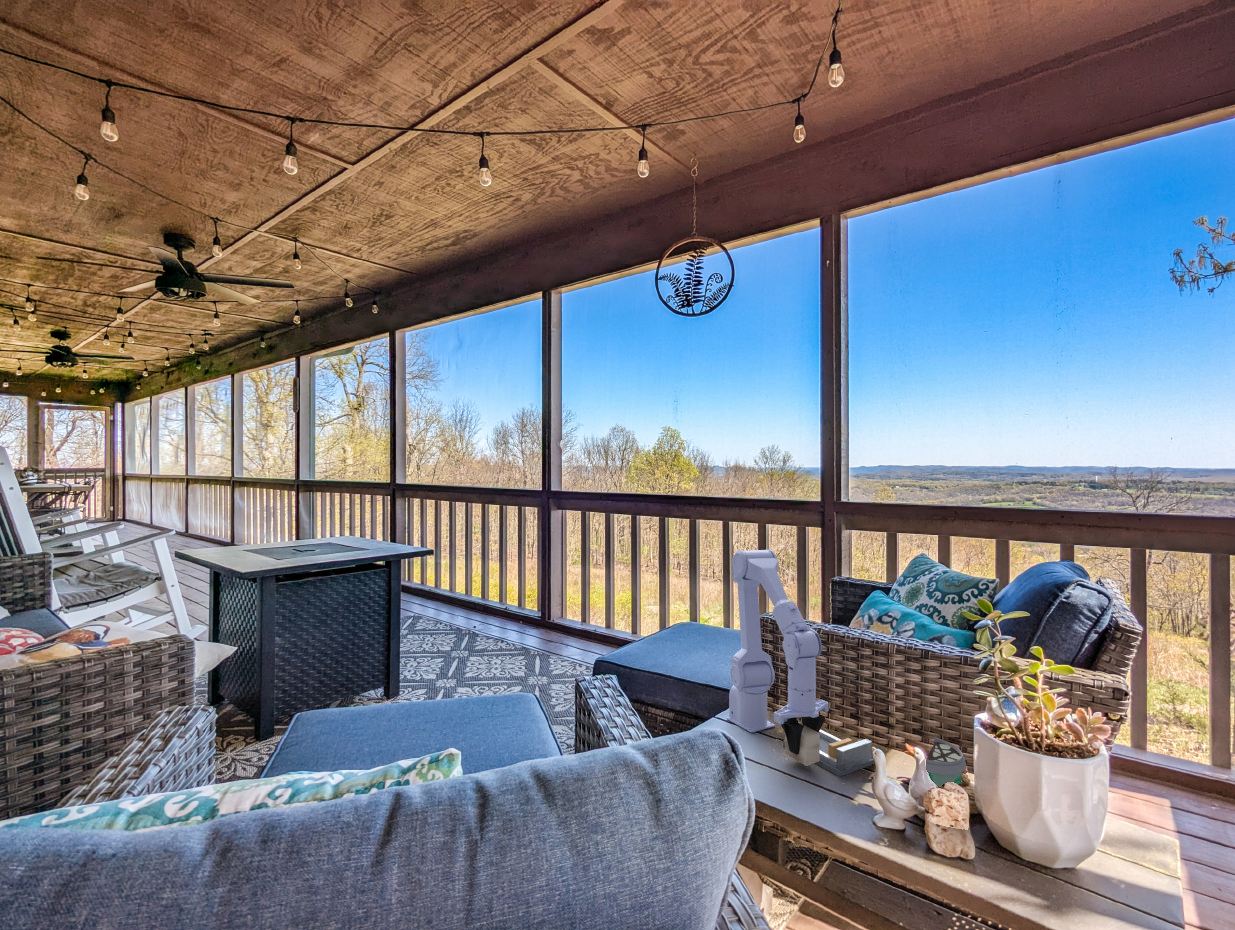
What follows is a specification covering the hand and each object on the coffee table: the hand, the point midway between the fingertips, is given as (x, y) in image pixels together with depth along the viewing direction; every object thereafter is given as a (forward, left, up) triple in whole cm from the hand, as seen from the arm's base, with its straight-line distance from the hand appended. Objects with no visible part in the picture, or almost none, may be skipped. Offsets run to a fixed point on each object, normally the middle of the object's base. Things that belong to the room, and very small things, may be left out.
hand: (801, 750), depth 123 cm
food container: (+24, +13, -4) cm, 28 cm away
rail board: (-1, +9, -3) cm, 10 cm away
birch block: (0, 0, -2) cm, 2 cm away
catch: (+3, +9, -2) cm, 10 cm away
